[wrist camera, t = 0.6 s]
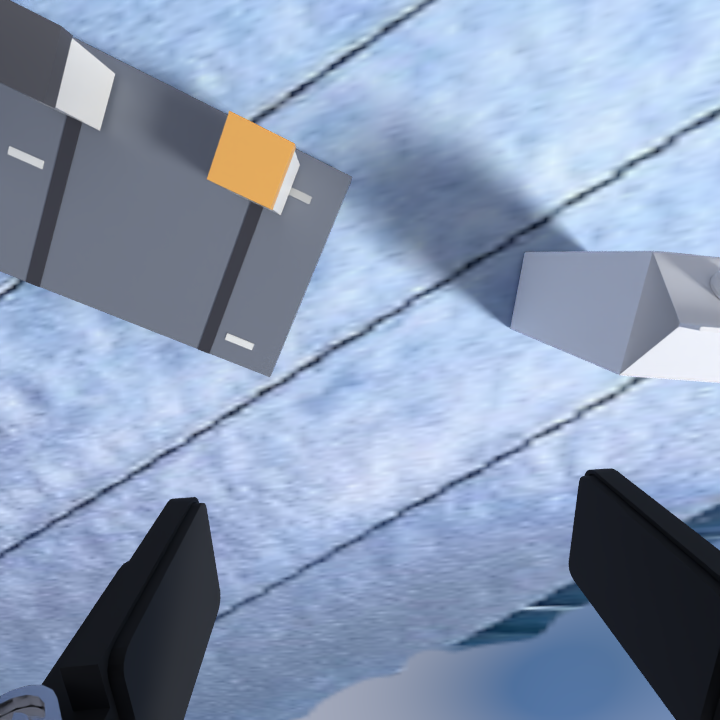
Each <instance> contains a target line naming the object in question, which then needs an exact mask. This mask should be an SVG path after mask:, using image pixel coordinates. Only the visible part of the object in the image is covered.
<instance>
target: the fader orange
mask: <svg viewBox="0 0 720 720" xmlns="http://www.w3.org/2000/svg"><path fill="white" fill-rule="evenodd" d="M295 149H296V146H295V144H294V143H293V142H291V141H289V140H287V139H285V138H283V137H281V136H279V135H277V134H275V133H273V132H271V131H269V130H267V129H265V128H263V127H261V126H259V125H257V124H255V123H253V122H251V121H249V120H247V119H245V118H243V117H241V116H239V115H237V114H235V113H233V112H231V111H229V114H228V117H227V120H226V123H225V126H224V129H223V132H222V135H221V138H220V141H219V144H218V147H217V150H216V153H215V156H214V159H213V162H212V165H211V168H210V171H209V174H208V177H207V180H209V181H211V182H213V183H215V184H217V185H219V186H221V187H223V188H225V189H227V190H229V191H230V192H232V193H234V194H236V195H238V196H241V197H243V198H245V199H247V200H249V201H251V202H253V203H256V204H258V205H260V206H262V207H264V208H266V209H268V210H271V211H273V212H275V213H277V214H279V215H281V213H282V211H283V208H284V205H285V203H286V200H287V197H288V195H289V192H290V190H291V187H292V184H293V182H294V179H295V176H296V174H297V171H298V169H299V166H300V164H299V161H298V159H297V156H296V153H295Z"/></svg>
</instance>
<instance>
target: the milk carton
mask: <svg viewBox="0 0 720 720" xmlns="http://www.w3.org/2000/svg"><path fill="white" fill-rule="evenodd" d="M510 329H512V330H514V331H517V332H519V333H521V334H524V335H526V336H529V337H531V338H533V339H536V340H538V341H540V342H543V343H545V344H548V345H550V346H552V347H555V348H557V349H559V350H562V351H564V352H566V353H569V354H571V355H574V356H576V357H578V358H581V359H583V360H585V361H588V362H590V363H593V364H595V365H597V366H600V367H602V368H604V369H607V370H609V371H612V372H614V373H616V374H619V375H622V376H633V377H646V378H660V379H674V380H688V381H701V382H715V383H720V257H711V256H701V255H692V254H682V253H672V252H661V251H572V252H525V253H524V259H523V264H522V269H521V274H520V279H519V285H518V290H517V295H516V300H515V306H514V311H513V316H512V321H511V326H510Z"/></svg>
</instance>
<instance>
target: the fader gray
mask: <svg viewBox="0 0 720 720" xmlns="http://www.w3.org/2000/svg"><path fill="white" fill-rule="evenodd" d="M72 37H73V36H72V35H71V34H70V33H69V32H68V31H66V30H65V29H64V28H63V27H62V26H60V25H58V24H56V23H54V22H52V21H50V20H48V19H46V18H44V17H42V16H40V15H38V14H36V13H34V12H32V11H30V10H28V9H26V8H24V7H22V6H20V5H18V4H16V3H14V2H12V1H10V0H0V83H1V84H3V85H5V86H8V87H10V88H12V89H14V90H16V91H18V92H20V93H22V94H24V95H26V96H28V97H30V98H32V99H34V100H36V101H38V102H40V103H42V104H44V105H46V106H48V107H50V108H52V109H54V110H57V111H59V112H61V113H63V114H65V115H67V116H69V117H72V118H74V119H76V120H78V121H80V122H82V123H84V124H87V125H89V126H91V127H93V128H95V129H97V130H99V131H100V129H101V125H102V121H103V118H104V114H105V110H106V107H107V103H108V99H109V95H110V92H111V88H112V84H113V80H114V77H115V73H114V72H112V71H111V70H110V69H109V68H108V67H106V66H105V65H104V64H103V63H102V62H100V61H99V60H98V59H97V58H96V57H94V56H93V55H92V54H91V53H90V52H88V51H87V50H86V49H85V48H84V47H82V46H81V45H80V44H79V43H78V42H76V41H75V40H74V39H73V38H72Z"/></svg>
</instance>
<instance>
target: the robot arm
mask: <svg viewBox="0 0 720 720" xmlns="http://www.w3.org/2000/svg"><path fill="white" fill-rule="evenodd" d="M569 570H570V573H571V576H572V578H573V580H574V581H575V582H576V584H577V585H578V587H579V588H580V589H581V591H582V592H583V593H584V595H585V596H586V597H587V599H588V600H589V602H590V603H591V604H592V606H593V607H594V608H595V610H596V611H597V612H598V614H599V615H600V617H601V618H602V619H603V621H604V622H605V623H606V625H607V626H608V628H609V629H610V630H611V632H612V633H613V634H614V636H615V637H616V638H617V640H618V641H619V642H620V644H621V645H622V647H623V648H624V649H625V651H626V652H627V653H628V655H629V656H630V658H631V659H632V660H633V662H634V663H635V664H636V666H637V667H638V669H639V670H640V671H641V673H642V674H643V675H644V676H645V678H646V679H647V681H648V682H649V684H650V685H651V686H652V688H653V689H654V690H655V692H656V693H657V694H658V696H659V697H660V698H661V700H662V701H663V703H664V704H665V706H666V707H667V708H668V710H669V711H670V712H671V714H672V715H673V716H674V718H675V719H676V720H720V550H718V549H717V548H716V547H714V546H713V545H712V544H711V543H709V542H708V541H707V540H705V539H704V538H703V537H702V536H700V535H699V534H698V533H696V532H695V531H694V530H693V529H691V528H690V527H689V526H687V525H686V524H685V523H683V522H682V521H681V520H680V519H678V518H677V517H676V516H674V515H673V514H672V513H671V512H669V511H668V510H667V509H665V508H664V507H663V506H662V505H660V504H659V503H658V502H656V501H655V500H654V499H653V498H651V497H650V496H649V495H647V494H646V493H645V492H644V491H642V490H641V489H640V488H638V487H637V486H636V485H634V484H633V483H632V482H631V481H629V480H628V479H627V478H625V477H624V476H623V475H622V474H620V473H619V472H618V471H616V470H614V469H595V470H588V471H587V472H586V473H585V476H583V477H581V478H580V481H579V486H578V494H577V502H576V510H575V517H574V525H573V533H572V541H571V549H570V556H569ZM219 605H220V588H219V582H218V576H217V569H216V563H215V557H214V551H213V545H212V539H211V532H210V526H209V520H208V514H207V508H206V505H205V503H199V501H198V499H197V498H196V497H191V498H176V499H170V500H169V501H168V503H167V504H166V506H165V507H164V509H163V510H162V512H161V513H160V515H159V516H158V518H157V519H156V521H155V522H154V524H153V526H152V527H151V529H150V530H149V532H148V533H147V535H146V536H145V538H144V539H143V541H142V542H141V544H140V545H139V547H138V548H137V550H136V551H135V553H134V554H133V556H132V558H131V559H130V561H128V562H126V563H124V564H123V565H122V566H121V568H120V569H119V570H118V571H117V573H116V574H115V576H114V577H113V579H112V580H111V582H110V583H109V585H108V586H107V588H106V589H105V591H104V592H103V594H102V595H101V597H100V598H99V600H98V601H97V603H96V604H95V606H94V607H93V609H92V610H91V612H90V613H89V615H88V616H87V618H86V619H85V621H84V622H83V624H82V625H81V627H80V628H79V630H78V631H77V633H76V634H75V636H74V637H73V639H72V640H71V642H70V643H69V645H68V646H67V647H66V649H65V650H64V652H63V653H62V655H61V656H60V658H59V659H58V661H57V662H56V664H55V665H54V667H53V668H52V670H51V671H50V673H49V674H48V676H47V677H46V679H45V680H44V682H43V683H42V685H28V686H24V687H21V688H17V689H14V690H11V691H9V692H7V693H5V694H3V695H1V696H0V720H184V717H185V714H186V710H187V707H188V704H189V701H190V698H191V695H192V692H193V688H194V685H195V682H196V679H197V676H198V673H199V670H200V666H201V663H202V660H203V657H204V654H205V651H206V648H207V644H208V641H209V638H210V635H211V632H212V629H213V626H214V622H215V619H216V616H217V613H218V610H219Z"/></svg>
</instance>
